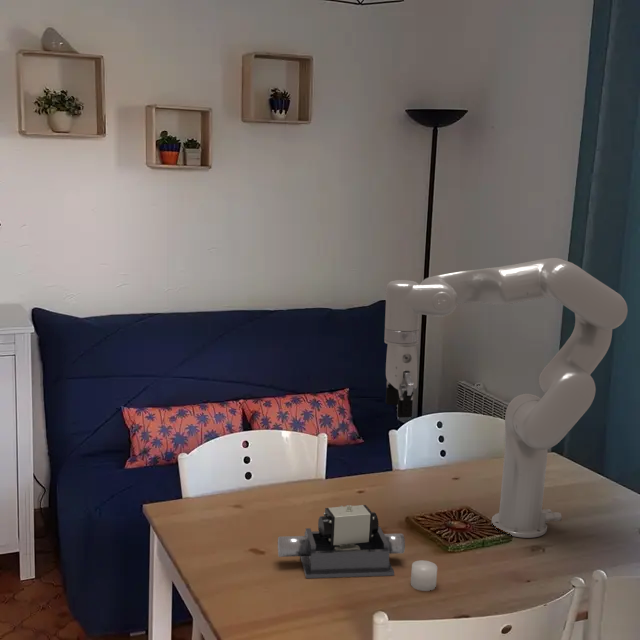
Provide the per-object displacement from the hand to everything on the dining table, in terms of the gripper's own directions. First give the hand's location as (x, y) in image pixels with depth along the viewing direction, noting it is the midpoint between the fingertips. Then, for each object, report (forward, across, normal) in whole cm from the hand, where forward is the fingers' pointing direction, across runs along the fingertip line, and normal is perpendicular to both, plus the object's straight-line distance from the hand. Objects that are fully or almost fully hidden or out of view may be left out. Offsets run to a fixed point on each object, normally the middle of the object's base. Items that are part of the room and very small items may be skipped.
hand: (398, 410), depth 189 cm
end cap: (+28, -28, +2) cm, 39 cm away
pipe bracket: (+27, -18, +15) cm, 36 cm away
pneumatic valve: (+26, -18, +15) cm, 35 cm away
